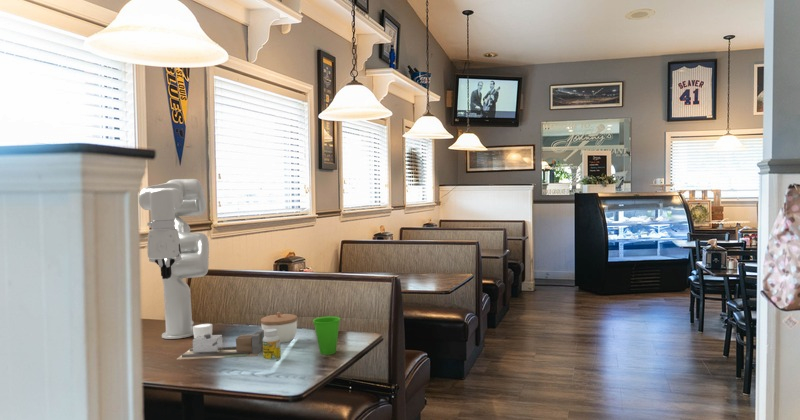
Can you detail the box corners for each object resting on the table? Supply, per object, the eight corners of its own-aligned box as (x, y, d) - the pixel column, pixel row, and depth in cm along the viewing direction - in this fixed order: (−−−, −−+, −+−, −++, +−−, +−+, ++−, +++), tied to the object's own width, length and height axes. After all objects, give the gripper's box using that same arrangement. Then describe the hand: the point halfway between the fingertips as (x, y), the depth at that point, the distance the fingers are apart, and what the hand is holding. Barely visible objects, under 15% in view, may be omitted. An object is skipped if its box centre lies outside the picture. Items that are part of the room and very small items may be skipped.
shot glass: (207, 347, 196) (206, 327, 196) (189, 347, 197) (188, 327, 197) (217, 342, 203) (216, 323, 203) (200, 342, 204) (199, 323, 204)
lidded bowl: (255, 343, 199) (254, 312, 198) (287, 336, 207) (285, 307, 207) (272, 350, 189) (271, 317, 189) (304, 342, 197) (303, 311, 197)
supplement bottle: (283, 358, 179) (282, 328, 178) (275, 363, 174) (274, 332, 173) (269, 357, 180) (267, 327, 180) (260, 362, 175) (258, 331, 175)
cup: (324, 347, 189) (322, 315, 189) (347, 350, 185) (345, 317, 185) (308, 355, 181) (307, 321, 181) (332, 357, 177) (330, 323, 177)
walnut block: (241, 349, 186) (240, 334, 186) (255, 349, 186) (255, 334, 186) (236, 353, 181) (235, 338, 181) (251, 353, 181) (251, 338, 181)
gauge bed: (190, 352, 190) (189, 331, 190) (266, 349, 190) (265, 328, 190) (176, 363, 178) (174, 340, 178) (257, 359, 178) (256, 337, 178)
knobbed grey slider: (198, 350, 186) (198, 333, 186) (222, 349, 186) (221, 332, 186) (190, 356, 179) (189, 338, 179) (215, 355, 179) (214, 337, 179)
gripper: (136, 227, 187) (139, 281, 188) (181, 225, 187) (184, 279, 189) (146, 224, 195) (149, 276, 196) (189, 223, 195) (192, 275, 196)
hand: (166, 278), depth 192 cm, fingers closed
